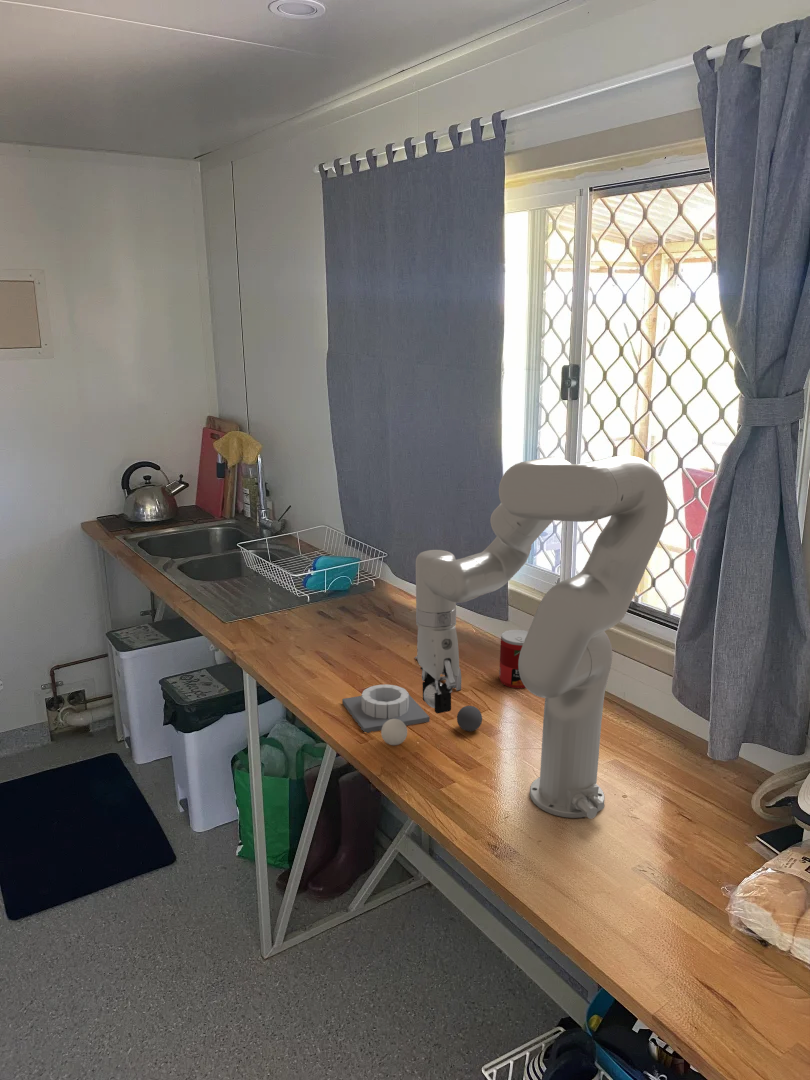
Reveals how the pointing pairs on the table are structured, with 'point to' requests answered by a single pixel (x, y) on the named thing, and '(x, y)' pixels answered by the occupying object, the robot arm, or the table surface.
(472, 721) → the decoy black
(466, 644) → the table surface
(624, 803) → the table surface
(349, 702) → the housing
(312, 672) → the table surface
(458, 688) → the caliper
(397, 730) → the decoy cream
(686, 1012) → the table surface
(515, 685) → the canned food
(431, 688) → the steel ball
